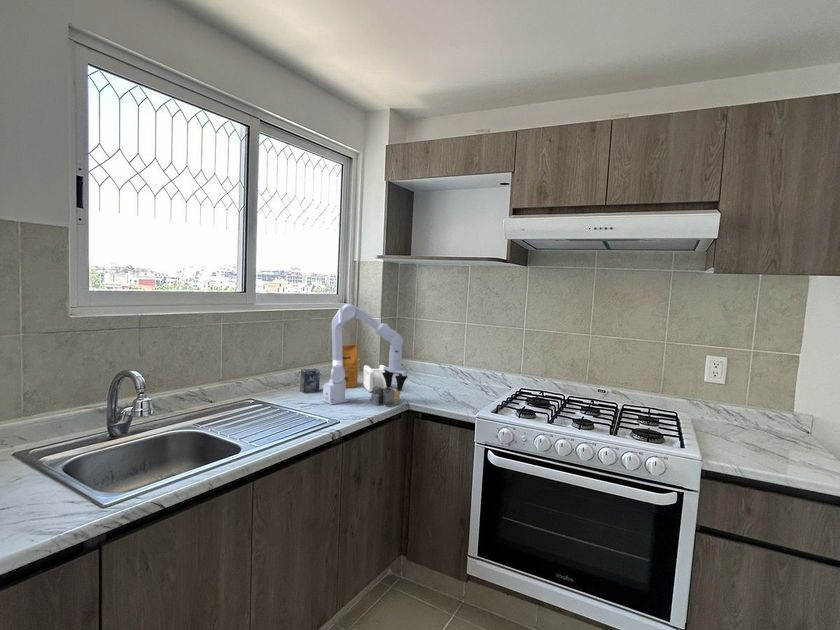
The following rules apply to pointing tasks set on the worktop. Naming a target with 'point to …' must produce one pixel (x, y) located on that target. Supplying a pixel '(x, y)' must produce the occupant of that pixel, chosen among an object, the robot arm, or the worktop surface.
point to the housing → (385, 395)
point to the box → (310, 380)
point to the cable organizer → (373, 378)
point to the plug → (376, 400)
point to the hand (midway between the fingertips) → (394, 388)
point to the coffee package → (350, 364)
